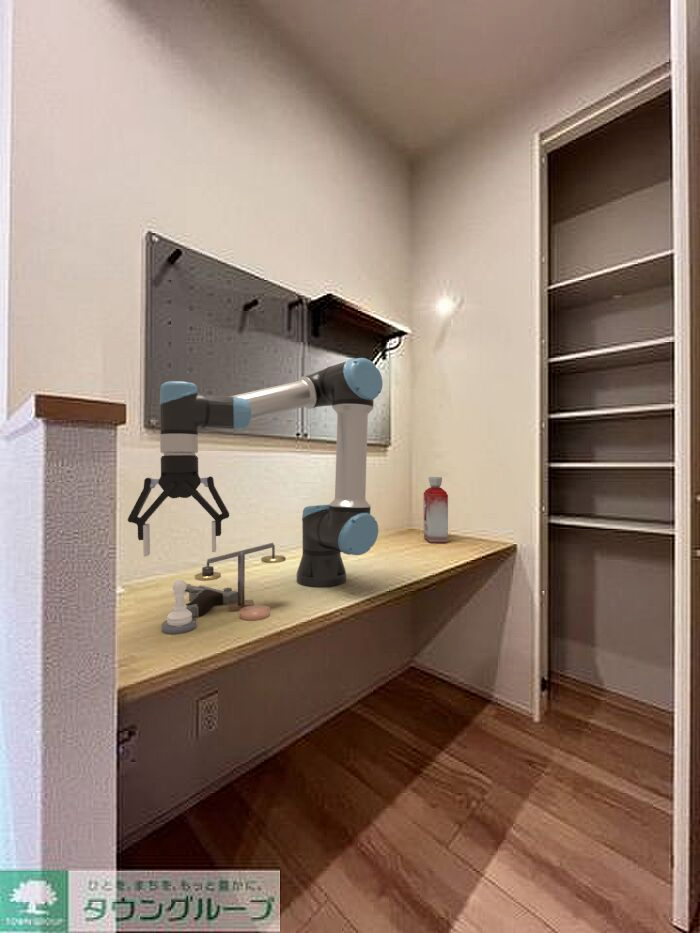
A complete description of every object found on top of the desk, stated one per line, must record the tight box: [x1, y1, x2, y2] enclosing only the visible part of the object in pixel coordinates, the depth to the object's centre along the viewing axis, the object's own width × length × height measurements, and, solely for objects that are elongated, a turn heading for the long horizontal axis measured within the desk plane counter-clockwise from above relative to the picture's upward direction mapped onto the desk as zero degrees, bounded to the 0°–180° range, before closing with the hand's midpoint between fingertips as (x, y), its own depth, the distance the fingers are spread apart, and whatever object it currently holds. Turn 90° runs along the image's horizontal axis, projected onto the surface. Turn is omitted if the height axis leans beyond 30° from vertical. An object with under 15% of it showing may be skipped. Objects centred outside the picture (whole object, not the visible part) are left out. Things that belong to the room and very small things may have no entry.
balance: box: [194, 542, 287, 613], centre depth 105 cm, size 22×6×16 cm, turn 105°
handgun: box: [185, 583, 238, 618], centre depth 110 cm, size 3×24×15 cm
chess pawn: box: [166, 579, 192, 626], centre depth 92 cm, size 5×5×9 cm
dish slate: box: [161, 617, 198, 635], centre depth 92 cm, size 7×7×1 cm
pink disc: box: [238, 604, 271, 621], centre depth 100 cm, size 7×7×1 cm
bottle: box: [422, 476, 449, 544], centre depth 200 cm, size 14×10×30 cm
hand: (181, 553), depth 92 cm, fingers open, 13 cm apart
